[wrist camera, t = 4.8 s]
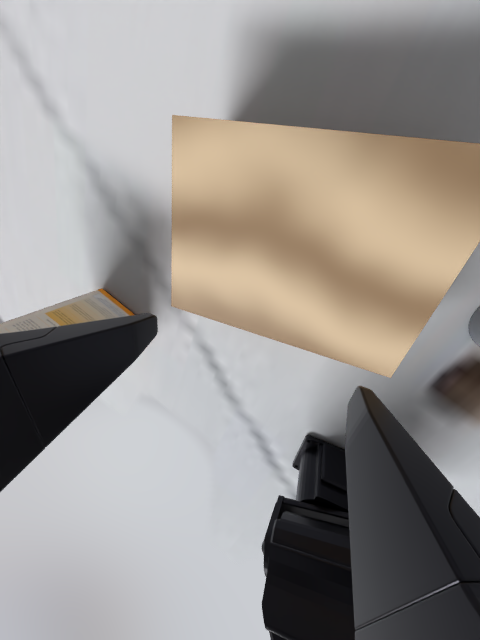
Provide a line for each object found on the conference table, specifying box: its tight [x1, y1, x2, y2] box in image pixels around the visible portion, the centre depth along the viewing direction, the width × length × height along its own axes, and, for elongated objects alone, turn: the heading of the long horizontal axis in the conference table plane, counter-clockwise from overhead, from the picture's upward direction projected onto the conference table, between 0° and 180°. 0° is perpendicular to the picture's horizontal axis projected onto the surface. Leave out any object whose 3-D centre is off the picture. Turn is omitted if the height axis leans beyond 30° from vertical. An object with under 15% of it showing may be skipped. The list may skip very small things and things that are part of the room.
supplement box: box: [0, 289, 135, 334], centre depth 24 cm, size 8×5×13 cm, turn 56°
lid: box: [171, 115, 480, 378], centre depth 14 cm, size 12×17×1 cm
